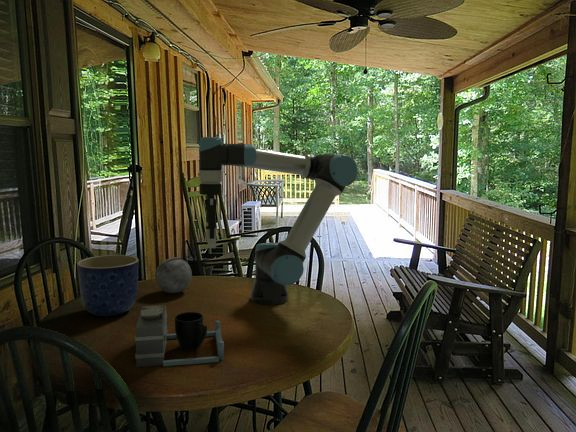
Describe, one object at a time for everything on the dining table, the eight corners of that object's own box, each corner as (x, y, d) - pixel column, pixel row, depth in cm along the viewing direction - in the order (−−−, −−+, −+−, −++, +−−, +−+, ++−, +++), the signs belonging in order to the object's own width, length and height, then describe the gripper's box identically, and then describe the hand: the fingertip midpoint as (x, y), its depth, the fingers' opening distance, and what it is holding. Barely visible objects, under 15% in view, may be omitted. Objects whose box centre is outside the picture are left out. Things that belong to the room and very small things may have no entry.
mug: (192, 359, 125) (192, 327, 124) (169, 346, 134) (169, 316, 132) (216, 351, 131) (216, 320, 130) (193, 339, 140) (192, 309, 138)
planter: (78, 325, 150) (75, 270, 147) (79, 306, 168) (77, 257, 166) (142, 317, 158) (141, 264, 155) (137, 300, 176) (136, 253, 174)
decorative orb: (181, 285, 197) (180, 252, 195) (198, 293, 187) (198, 258, 185) (149, 292, 187) (148, 257, 185) (166, 300, 177) (165, 263, 175)
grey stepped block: (167, 338, 140) (166, 298, 138) (164, 365, 122) (163, 319, 120) (142, 340, 138) (141, 299, 136) (135, 367, 120) (134, 321, 119)
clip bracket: (220, 334, 144) (219, 319, 143) (224, 361, 125) (224, 344, 124) (167, 337, 140) (166, 322, 140) (163, 366, 121) (162, 348, 121)
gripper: (198, 180, 163) (199, 238, 166) (200, 185, 139) (200, 251, 142) (219, 181, 165) (219, 237, 167) (224, 185, 141) (224, 251, 143)
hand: (211, 244), depth 155 cm, fingers open, 13 cm apart
